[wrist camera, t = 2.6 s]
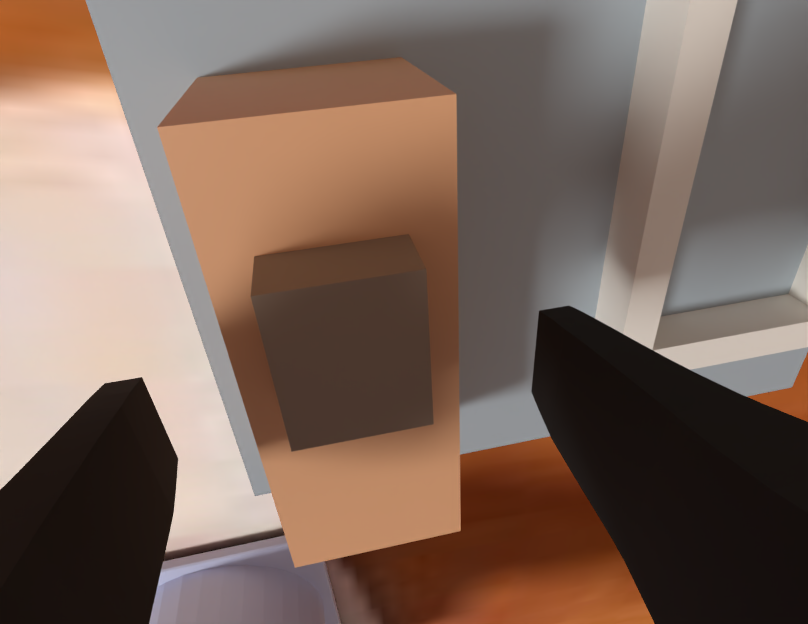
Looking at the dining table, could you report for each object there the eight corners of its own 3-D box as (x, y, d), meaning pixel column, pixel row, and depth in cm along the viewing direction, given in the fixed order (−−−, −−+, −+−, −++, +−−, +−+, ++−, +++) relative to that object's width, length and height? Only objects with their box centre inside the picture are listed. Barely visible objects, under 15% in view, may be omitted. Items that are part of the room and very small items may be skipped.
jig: (774, 373, 20) (825, 413, 18) (256, 475, 17) (253, 535, 15) (1087, -379, 10) (1272, -459, 8) (-30, -389, 7) (-132, -510, 5)
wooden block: (423, 416, 16) (475, 577, 12) (291, 442, 16) (296, 619, 11) (401, 57, 11) (484, 111, 6) (196, 77, 10) (136, 153, 6)
